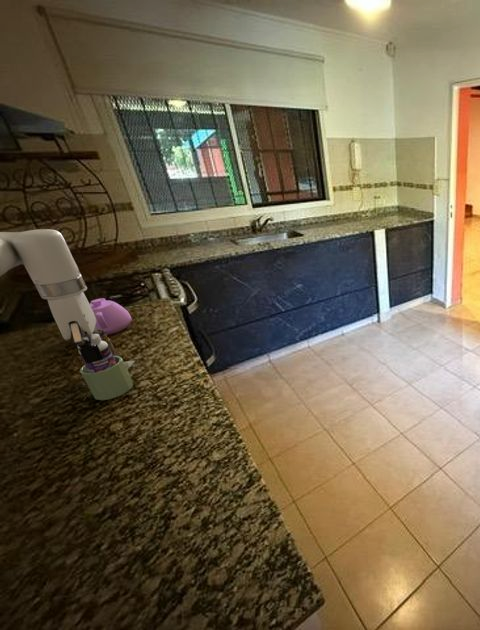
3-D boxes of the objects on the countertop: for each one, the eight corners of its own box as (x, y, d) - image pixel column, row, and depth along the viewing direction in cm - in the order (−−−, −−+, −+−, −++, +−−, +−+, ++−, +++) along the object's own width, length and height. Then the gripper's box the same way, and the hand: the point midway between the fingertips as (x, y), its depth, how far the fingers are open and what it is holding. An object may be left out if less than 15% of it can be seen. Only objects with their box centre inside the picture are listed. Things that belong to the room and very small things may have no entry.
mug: (91, 404, 84) (77, 378, 80) (95, 387, 90) (82, 362, 86) (132, 392, 88) (120, 366, 84) (133, 376, 94) (122, 352, 90)
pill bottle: (100, 379, 83) (82, 345, 79) (85, 374, 85) (67, 341, 80) (123, 366, 88) (108, 334, 83) (109, 362, 89) (93, 330, 85)
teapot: (132, 312, 130) (121, 286, 125) (134, 332, 116) (122, 303, 111) (83, 322, 122) (70, 295, 118) (80, 345, 108) (64, 315, 104)
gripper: (47, 279, 80) (81, 345, 88) (28, 303, 68) (70, 378, 76) (89, 272, 84) (118, 336, 92) (78, 295, 72) (113, 366, 80)
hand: (96, 354), depth 84 cm, fingers closed on pill bottle, 5 cm apart
